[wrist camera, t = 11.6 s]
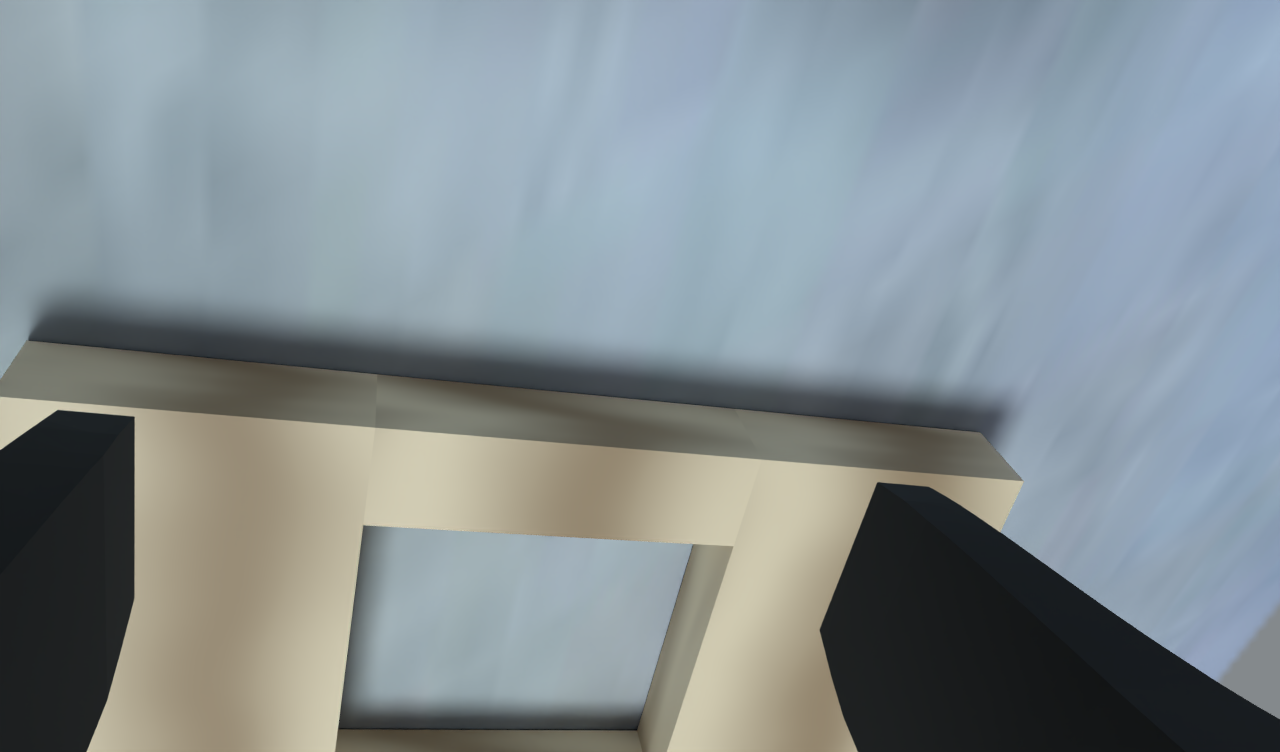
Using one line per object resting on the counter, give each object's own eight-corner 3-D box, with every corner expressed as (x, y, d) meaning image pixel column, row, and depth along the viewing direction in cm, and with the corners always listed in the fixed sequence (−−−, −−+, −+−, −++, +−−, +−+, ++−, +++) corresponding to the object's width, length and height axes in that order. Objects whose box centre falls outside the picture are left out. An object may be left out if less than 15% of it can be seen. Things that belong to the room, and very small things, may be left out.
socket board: (49, 796, 24) (22, 873, 22) (26, 340, 19) (-11, 395, 17) (827, 786, 30) (853, 847, 28) (980, 432, 24) (1024, 481, 23)
